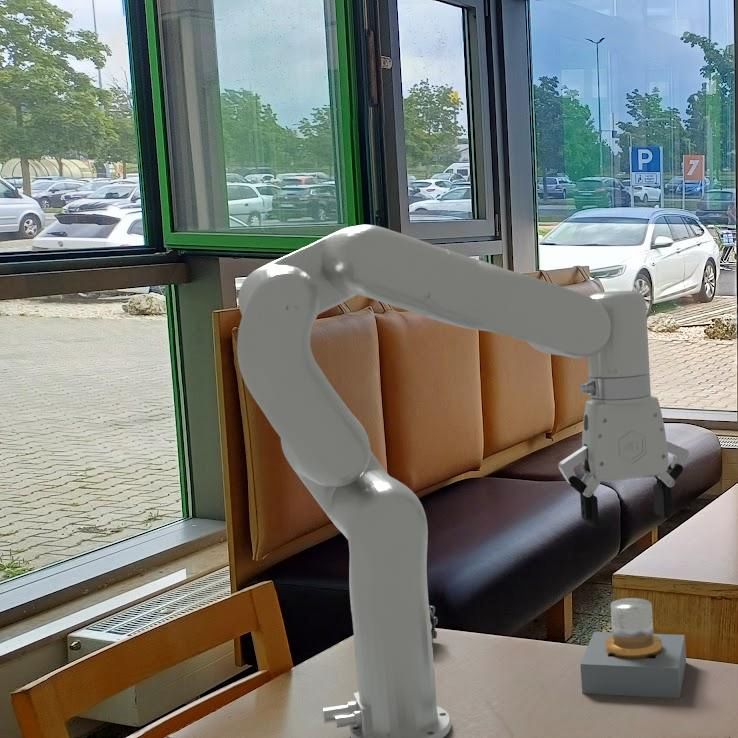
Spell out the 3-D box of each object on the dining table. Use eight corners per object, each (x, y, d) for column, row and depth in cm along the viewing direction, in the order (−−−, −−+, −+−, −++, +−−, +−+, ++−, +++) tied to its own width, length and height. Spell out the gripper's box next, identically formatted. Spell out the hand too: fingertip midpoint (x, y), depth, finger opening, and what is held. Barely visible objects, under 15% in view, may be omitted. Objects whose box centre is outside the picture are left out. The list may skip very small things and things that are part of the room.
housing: (680, 707, 142) (677, 668, 141) (582, 702, 146) (580, 664, 145) (686, 671, 153) (684, 634, 152) (596, 667, 157) (593, 631, 156)
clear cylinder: (620, 691, 145) (616, 616, 144) (598, 671, 152) (594, 600, 151) (673, 683, 146) (669, 608, 145) (649, 663, 153) (645, 592, 152)
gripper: (565, 398, 140) (574, 535, 142) (697, 385, 143) (703, 519, 145) (545, 392, 147) (553, 522, 149) (670, 379, 150) (676, 507, 152)
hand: (627, 520), depth 147 cm, fingers open, 9 cm apart
